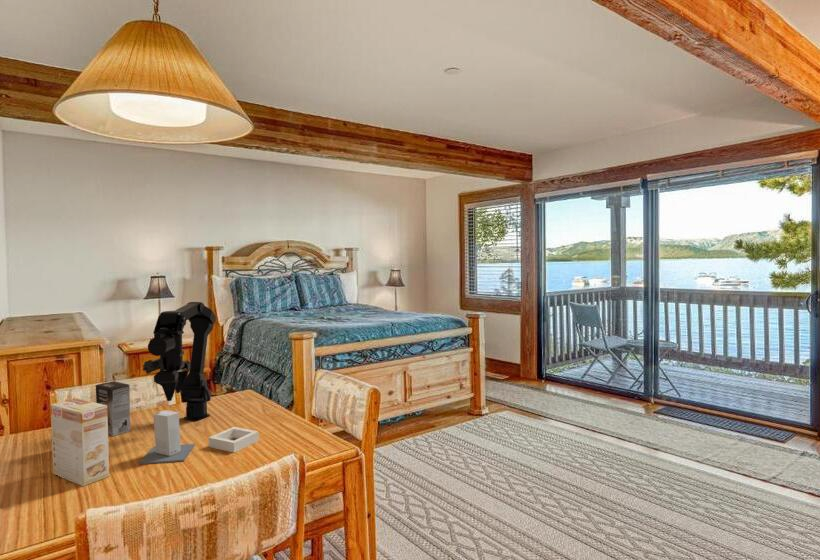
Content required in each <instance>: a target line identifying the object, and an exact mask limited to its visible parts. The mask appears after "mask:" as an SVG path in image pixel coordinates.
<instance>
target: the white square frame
mask: <svg viewBox="0 0 820 560" xmlns="http://www.w3.org/2000/svg"><path fill="white" fill-rule="evenodd" d="M233 439H235V440H233ZM259 440H260V439H259V431H257V430H251V429H247V428H242V427H238V426H237V427H236V426H233V427H230V428H228V429H225V430H223V431H221V432H218V433H216V434H213V435H211V436H209V437H208V447H209V448H211V449H215V450H221V451H225V452H229V453H234V454H235V453H237V452H238V451H240V450H243V449H245V448H247V447H248V446H252V445H253V444H255V443H257V442H259Z"/></svg>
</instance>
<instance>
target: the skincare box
mask: <svg viewBox="0 0 820 560" xmlns="http://www.w3.org/2000/svg"><path fill="white" fill-rule="evenodd" d="M179 415H180V414H179V412H177V411H171V410H166V409H165V410H161V411H158V412H156V413H153V416H152V417H153V428H154V429H153V430H154V441H155V443H154V445H155V447H156V453H158V454H163V455H167V456H172V455H174V454H176V453H179V452H180V451H181V446H180V445H181V433H180V431H181V430H180V416H179Z"/></svg>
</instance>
